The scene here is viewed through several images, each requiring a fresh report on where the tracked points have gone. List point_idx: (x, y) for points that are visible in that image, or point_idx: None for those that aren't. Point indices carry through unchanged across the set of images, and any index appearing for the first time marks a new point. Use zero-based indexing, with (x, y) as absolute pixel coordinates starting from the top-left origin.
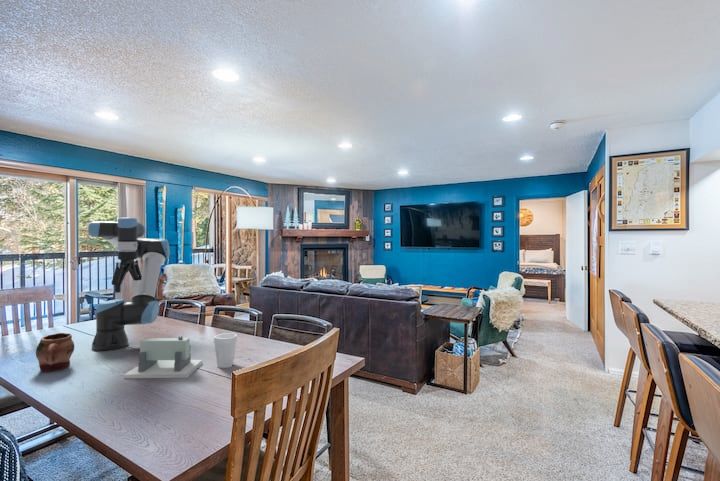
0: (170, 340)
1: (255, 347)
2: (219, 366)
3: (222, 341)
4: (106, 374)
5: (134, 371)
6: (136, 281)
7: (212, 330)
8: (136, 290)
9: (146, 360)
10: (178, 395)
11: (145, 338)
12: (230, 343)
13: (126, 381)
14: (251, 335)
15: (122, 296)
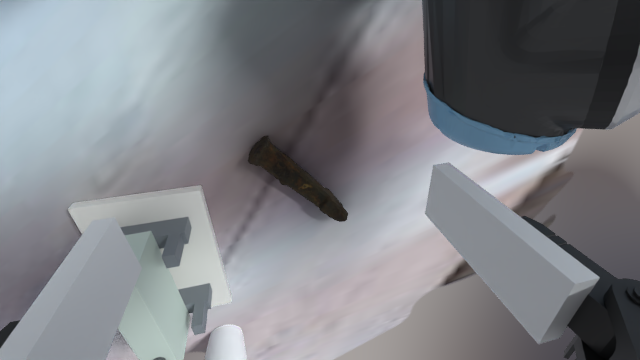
0: (137, 349)
1: (345, 326)
2: (210, 336)
3: None
4: (79, 130)
5: (102, 218)
6: (535, 315)
7: (512, 183)
8: (448, 224)
9: None
10: None
11: None
12: None
13: (57, 221)
14: (436, 284)
15: (127, 294)
